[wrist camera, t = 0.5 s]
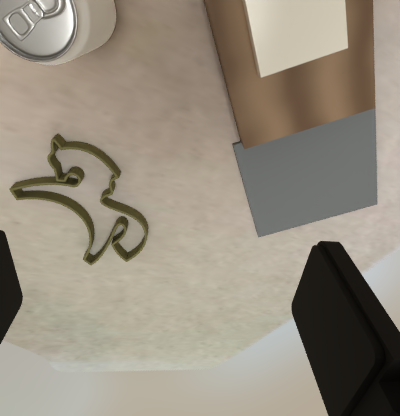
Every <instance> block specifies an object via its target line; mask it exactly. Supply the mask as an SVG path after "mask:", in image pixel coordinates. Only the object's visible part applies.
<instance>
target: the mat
mask: <svg viewBox="0 0 400 416" xmlns="http://www.w3.org/2000/svg"><path fill="white" fill-rule="evenodd" d="M233 147H234V151H235V155H236V158H237V162H238V165H239V169H240V173H241V176H242V180H243V183H244V187H245V191H246V194H247V198H248V201H249V205H250V208H251V212H252V216H253V219H254V223H255V226H256V230H257V234H258V237H262V236H265V235H269V234H273V233H276V232H280V231H283V230H287V229H290V228H294V227H298V226H301V225H305V224H308V223H312V222H315V221H319V220H323V219H326V218H330V217H333V216H337V215H340V214H344V213H348V212H351V211H355V210H358V209H362V208H365V207H369V206H373V205H376V204H377V162H376V116H375V108H374V109H371V110H367V111H364V112H361V113H358V114H355V115H352V116H348V117H345V118H342V119H339V120H336V121H333V122H329V123H326V124H323V125H320V126H317V127H314V128H310V129H307V130H304V131H301V132H298V133H295V134H291V135H288V136H285V137H282V138H279V139H276V140H272V141H269V142H266V143H263V144H260V145H257V146H253V147H250V148H247V149H244V147H243V145H242V143H241V141H240V142H237V143H234V144H233Z"/></svg>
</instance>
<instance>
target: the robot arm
mask: <svg viewBox="0 0 400 416" xmlns="http://www.w3.org/2000/svg"><path fill="white" fill-rule="evenodd" d="M22 299H23V296H22V291H21V288H20V284H19V281H18V277H17V273H16V270H15V266H14V263H13V259H12V256H11V252H10V249H9V245H8V242H7V238H6V235H5V232H4V231H2V230H0V344H1V342H2V340H3V338H4V336H5V335H6V333H7V331H8V329H9V327H10V325H11V323H12V322H13V320H14V318H15V316H16V314H17V312H18V310H19V309H20V307H21V304H22ZM292 314H293V317H294V320H295V322H296V326H297V328H298V331H299V334H300V337H301V340H302V343H303V345H304V348H305V351H306V354H307V357H308V359H309V362H310V365H311V368H312V370H313V373H314V376H315V379H316V382H317V385H318V387H319V390H320V393H321V396H322V399H323V401H324V404H325V407H326V410H327V413H328V415H329V416H400V332H399V330H398V329H397V327H396V326H395V324H394V323H393V321H392V320H391V318H390V317H389V315H388V314H387V313H386V311H385V309H384V308H383V306H382V305H381V303H380V302H379V300H378V299H377V297H376V296H375V294H374V293H373V291H372V290H371V288H370V287H369V285H368V284H367V282H366V281H365V279H364V278H363V276H362V275H361V273H360V272H359V270H358V269H357V267H356V266H355V264H354V263H353V261H352V260H351V258H350V257H349V255H348V253H347V252H346V250H345V249H344V247H343V246H342V245H341V243H339V242H331V241H320V242H319V243H318V244H317V245H314V246H313V247H312V249H311V252H310V254H309V257H308V260H307V263H306V265H305V268H304V271H303V274H302V277H301V279H300V282H299V285H298V288H297V290H296V293H295V296H294V299H293V302H292Z"/></svg>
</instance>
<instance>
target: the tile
mask: <svg viewBox="0 0 400 416" xmlns="http://www.w3.org/2000/svg"><path fill="white" fill-rule="evenodd" d="M242 2H243V6H244V11H245V16H246V21H247V26H248V30H249V35H250V40H251V45H252V50H253V55H254V59H255V64H256V69H257V74H258V76H260V77H261V78H262V77H265V76H268V75H271V74H274V73H276V72H279V71H282V70H285V69H288V68H291V67H294V66H297V65H300V64H303V63H306V62H309V61H312V60H315V59H317V58H320V57H323V56H326V55H329V54H332V53H335V52H338V51H341V50H344V49H347V48H348V38H347V22H346V5H345V0H242Z"/></svg>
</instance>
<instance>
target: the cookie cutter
mask: <svg viewBox="0 0 400 416" xmlns="http://www.w3.org/2000/svg"><path fill="white" fill-rule="evenodd" d="M58 148H60V149H61V150H65V149H76V150H82V151H85V152H88V153H90V154H92V155H94V156H95V157H97V158H98V159H100V160H101V161H102V162H103V163H104V164H105V165H106V166H107V167H108V168H109V169H110V170H111V171H112V173H113V175H112V177H111V179H110V182H109V188H108V189H106V190H105V191H104V192H103V194H102V196H101V199H100V202H101V204H102V205H104V206H106V207H108V208H110V209H113V210H115V211H118V212H121V213H124V214H126V215H128V216H130V217H132V218H134V219H135V220H137V221H138V222H139V223H140V224H141V225H142V227H143V229H144V232H145V236H144V238H143V240H142V242H141V243H140V244H139V245H138V246H137V247H136V248H134V249H133V250H132V251H130V252H127V251H126V250H124V249H123V248H122V246H121V245H120V244H119V243H118V242H119V241H120V240H121V239H122V238H123V237H124V236H125V234H126V230H127V226H128V220H127V218H125V217H123V216H121V217H119V218H118V219H117V221H116V223H115V226H114V228H113V230H112V232H111V234H110V236H109V238H108V240H107V242H106V243H105V245H104V246H103V247H102V249H101V250H100V251H99V252H98V253H97V254H96V255H94V256H93V255H92V254H90V253H89V251H90V248H91V246H92V243H93V240H94V225H93V222H92V219H91V217H90V216H89V214H88V213H87V211H86V210H85V209H84V208H83V207H82V206H81V205H80V204H78V203H77V202H76V201H74V200H72V199H71V198H69V197H66V196H64V195H61V194H58V193H54V192H48V191H24V192H23V190H22V189H21V188H25V187H31V186H39V185H64V186H70V187H77V186H78V185H79V184H80V183H81V181H82V179H83V177H84V172H83V170H82V169H81V168H79V167H73V168H71V169H70V171H69V172H68V174H65V173H63V172H62V167H61V163H60V162H59V161H58V159H57V158H56V156H55V152H56V151H57V150H58ZM48 162H49V164H50V166H51V167H52V168H53V169H54V172H55V177H41V178H34V179H29V180H24V181H20V182H17V183H15V184H14V185H13V186H12V187H11V188H10V189H9V190H10V191H11V193H12V194H13V195H14V197H15V198H16V200H24V199H39V200H47V201H52V202H55V203H58V204H61V205H63V206H65V207H67V208H69V209H71V210H72V211H74V212H75V213H76V214H77V215H78V216H79V217H80V218H81V219H82V220H83V221H84V223H85V225H86V227H87V229H88V232H89V239H90V241H89V248H88V249H87V251H86V253H85V255H84V258H83V260H84V261H85V262H87V263H88V264H90V265H92V264H94V263H95V262H96V261H98V260H99V258H100V257H101V256H102V255H103V253H104V252H105V251H106V249H107V247H108V245H109V243H110V241H111V239H112V237H113V235H114V233H115V231H116V229H117V227H118V226H119V225H122V226H123V227H124V229H123V230H122V231H121V232H120V233H119V234H117V235H116V236H114V237H113V240H112V247H113V248H114V250H115V252H116V253H117V254H118V255H119V256H120V257H121V258H122V259H123V260H124V261H126V262H127V261H129V260H131V259H132V258H134V257H135V256H136V255H138V254H139V253H140V251H141V250H142V249H143V247H144V246H145V243H146V240H147V233H148V225H147V221H146V219H145V218H144V216H143V215H142V214H141V213H140V212H138V211H137V210H135V209H133V208H131V207H129V206H127V205H124V204H122V203H119V202H116V201H114V200H111V199H109V198H108V197H107V196H110V195H112V194H113V191H114V189H115V182H114V180H115V179H117V178H119V176H120V173H121V171H120V170H119V168H118V167H117V165H116V164H115V163H114V162H113V161H112V159H111V158H110V157H109V156H107V155H106V154H105V153H104V152H103V151H101V150H100V149H98V148H97V147H95V146H93V145H90V144H87V143H83V142H66V141H65V140H64V139H63V137H62V136H61V135H59V134H57V135H56V136H55V137H54V138H53V139H52V140H51V152H50V154H49V155H48ZM70 175H75V176H76V177H77V178H78V179H75V178H69V176H70Z"/></svg>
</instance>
